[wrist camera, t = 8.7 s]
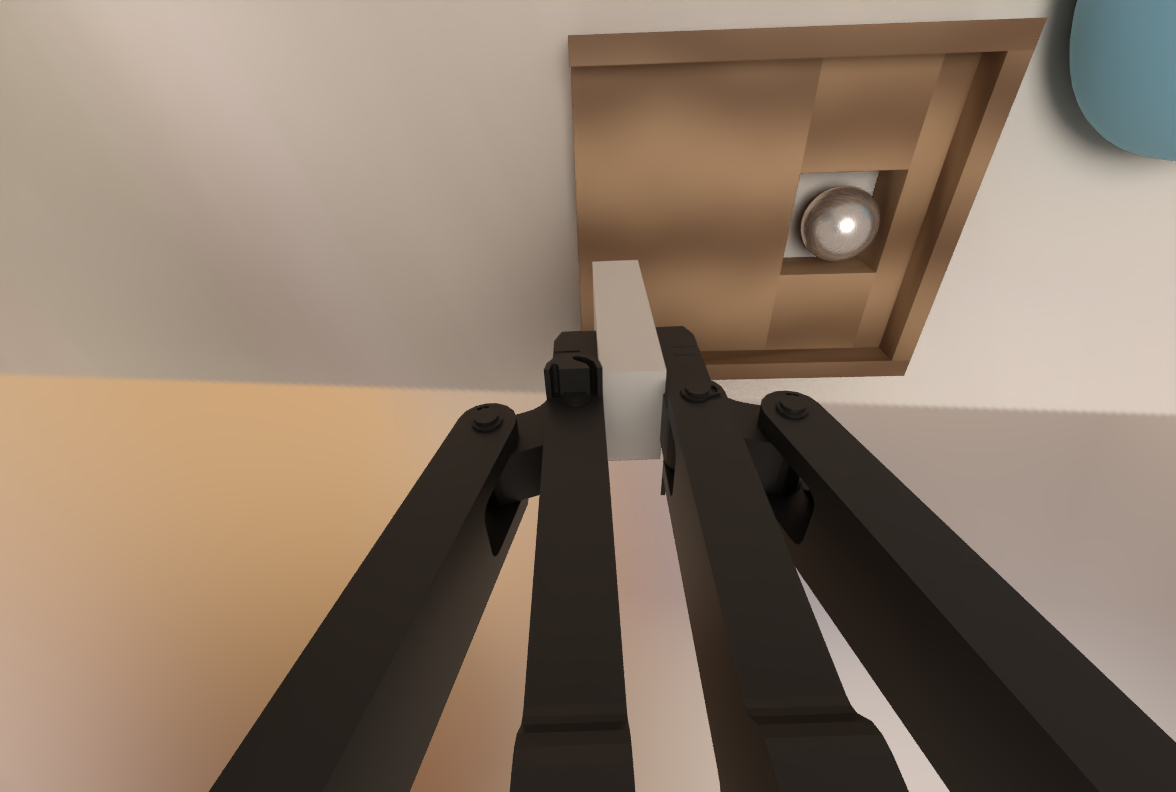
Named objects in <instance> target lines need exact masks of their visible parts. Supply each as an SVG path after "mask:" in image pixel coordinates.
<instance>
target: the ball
mask: <svg viewBox="0 0 1176 792" xmlns="http://www.w3.org/2000/svg"><path fill="white" fill-rule="evenodd" d="M879 225H880V211H879V208H878V205H877V203H876V201H875V200H874V198H873V197H872V196H871V195H870V194H869V193H868V192H866V191H865V190H863V189H861V188H858V187H853V186H839V187H834V188H831V189H829V190H827V191H825V192H823V193H821V194H820V195H818V196H817V197H816V198H815V199H814V200H813V201H812V202H811V203H810V204H809V206H808V207H807V209H806V211H805V212H804V215H803V218H802V221H801V236H802V240H803V242H804V244H805V246H806V247H807V249H808V250H809V251H810V252H811V253H812V254H814V255H815V256H817V257H819V258H821V259H824V260H829V261H840V260H845V259H849V258H852V257H854V256H856V255H857V254H859V253H861V252H862V251H863V250H865V249H866V248H867V247H868V246H869V245H870V243H871V242H872V241H873V239H874V238H875V236H876V234H877V232H878V229H879Z"/></svg>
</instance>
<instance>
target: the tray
mask: <svg viewBox="0 0 1176 792" xmlns="http://www.w3.org/2000/svg"><path fill="white" fill-rule="evenodd" d="M1046 20H1047V18H1024V19H997V20H970V21H943V22H916V23H889V24H863V25H836V26H809V27H782V28H755V29H728V30H701V31H675V32H648V33H621V34H594V35H568V47H569V67H571V86H572V109H573V133H574V157H575V181H576V205H577V229H578V253H579V277H580V300H581V324H582V331H594V299H593V266H592V262H597V261H623V260H638V263H639V267H640V270H641V274H642V278H643V282H644V286H645V290H646V294H647V297H648V301H649V305H650V309H651V313H652V317H653V320H654V324H655V327H669V326H684V327H685V328H686V329H688V330H689V331H690V332H691V333H692V334H694V336H695V339H696V342H697V344H698V347H699V350H700V352H701V355H702V358H703V360H704V363H705V366H706V368H707V371H708V374H709V376H710V379H711V380H727V379H773V378H819V377H865V376H904V375H905V372H906V370H907V367H908V365H909V362H910V360H911V357H912V355H913V352H914V350H915V347H916V345H917V342H918V340H919V337H920V335H921V332H922V330H923V327H924V325H925V322H926V320H927V317H928V315H929V312H930V310H931V307H932V305H933V302H934V300H935V297H936V295H937V292H938V290H939V287H940V285H941V282H942V280H943V277H944V275H945V272H946V270H947V267H948V265H949V262H950V260H951V257H952V255H953V252H954V250H955V247H956V245H957V242H958V240H959V237H960V235H961V232H962V230H963V227H964V225H965V222H966V220H967V217H968V215H969V212H970V210H971V207H972V205H973V202H974V200H975V197H976V195H977V192H978V190H979V187H980V185H981V182H982V180H983V177H984V175H985V172H986V170H987V167H988V165H989V162H990V160H991V157H992V155H993V152H994V150H995V147H996V145H997V142H998V140H999V137H1000V135H1001V132H1002V130H1003V127H1004V125H1005V122H1006V120H1007V117H1008V115H1009V112H1010V110H1011V107H1012V105H1013V102H1014V100H1015V97H1016V95H1017V92H1018V90H1019V87H1020V85H1021V82H1022V80H1023V77H1024V75H1025V72H1026V70H1027V67H1028V65H1029V62H1030V60H1031V57H1032V55H1033V52H1034V50H1035V47H1036V45H1037V42H1038V40H1039V37H1040V35H1041V32H1042V30H1043V27H1044V25H1045V22H1046ZM875 170H880V172H879V176H878V179H877V183H876V186H875V190H874V193H873V198H874V200H875V201H876V203H877V205H878V208H879V211H880V225H879V229H878V232H877V234H876V236H875V238H874V239H873V241H872V242H871V243H870V245H869V246H868V247H867V248H866V249H865V250H863V251H862V252H861V253H859V254H857V255H856V256H854V257H852V258H849V259H845V260H840V261H829V260H824V259H821V258H819V257H798V258H783V256H784V251H785V246H786V241H787V236H788V231H789V226H790V221H791V217H792V212H793V207H794V202H795V197H796V192H797V187H798V182H799V177H800V173H810V172H843V171H875Z"/></svg>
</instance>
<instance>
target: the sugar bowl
mask: <svg viewBox="0 0 1176 792" xmlns="http://www.w3.org/2000/svg"><path fill="white" fill-rule="evenodd" d="M1070 74H1071V81H1072V87H1073V91H1074V94H1075V97H1076V100H1077V103H1078V105H1079V107H1080V109H1081V111H1082V113H1083V114H1084V116H1085V118H1086V120H1087V121H1088V122H1089V123H1090V124H1091V125H1092V126H1093V127H1094V128H1095V130H1096V131H1097V132H1098V133H1099V134H1100V135H1101V136H1102V137H1103V138H1105V139H1106V140H1108V141H1109V142H1111V143H1112V144H1113V145H1115V146H1116V147H1118V148H1121V149H1123V150H1126V151H1128V152H1130V153H1133V154H1137V155H1142V156H1147V157H1151V158H1157V159H1164V160H1170V161H1176V0H1077V4H1076V7H1075V11H1074V16H1073V23H1072V29H1071V36H1070Z"/></svg>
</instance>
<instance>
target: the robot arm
mask: <svg viewBox="0 0 1176 792" xmlns="http://www.w3.org/2000/svg"><path fill="white" fill-rule="evenodd" d="M592 266H593V299H594V331H572V332H561V334H560V335H559V336H558V337H557V338H556V340H555V341H554V351H553V352H554V353H553V359H552V360H550V361H549V362H548V363H547V364H546V366H545V368H544V377H545V386H546V396H547V400H546V402H545V403H543V404H542V405H541V406H539V407H537V408H535V409H534V410H531V411H528V412H525V413H521V414H517V415H515V413H514V411H513V410H512V409H510V408H509V407H508V406H505V405H502V404H497V403H490V404H483V405H479V406H475V407H473V408H471V409H469V410H467V411H466V412H465V413H464V414H463V415H462V416H461V417H460V418H459V419H458V421H457V422H456V424H455V425H454V427H453V428H452V430H451V431H450V433H449V434H448V436H447V437H446V439H445V440H444V442H443V443H442V445H441V446H440V448H439V449H438V451H437V452H436V454H435V455H434V457H433V458H432V460H431V461H430V463H429V464H428V466H427V467H426V468H425V470H424V472H423V473H422V475H421V476H420V478H419V479H418V480H417V482H416V484H415V485H414V486H413V488H412V490H411V491H410V492H409V494H408V495H407V497H406V498H405V500H404V501H403V503H402V504H401V506H400V507H399V509H398V510H397V512H396V513H395V515H394V516H393V518H392V519H391V521H390V522H389V524H388V525H387V527H386V528H385V530H384V531H383V533H382V534H381V536H380V537H379V539H378V540H377V542H376V543H375V545H374V546H373V548H372V549H371V551H370V552H369V554H368V555H367V556H366V558H365V560H364V561H363V562H362V564H361V565H360V567H359V569H358V570H357V572H356V573H355V574H354V576H353V577H352V579H351V580H350V582H349V583H348V585H347V587H346V588H345V589H344V591H343V592H342V594H341V595H340V597H339V598H338V600H337V601H336V603H335V604H334V606H333V608H332V609H331V610H330V612H329V613H328V615H327V617H326V618H325V619H324V621H323V622H322V624H321V625H320V627H319V628H318V630H317V631H316V633H315V634H314V636H313V637H312V639H311V640H310V642H309V643H308V645H307V646H306V647H305V649H304V650H303V652H302V653H301V655H300V656H299V658H298V660H297V661H296V662H295V664H294V665H293V667H292V668H291V670H290V672H289V673H288V674H287V676H286V677H285V679H284V680H283V682H282V684H281V685H280V686H279V688H278V689H277V691H276V692H275V694H274V695H273V697H272V698H271V700H270V701H269V703H268V704H267V706H266V707H265V709H264V710H263V712H262V713H261V715H260V717H259V718H258V719H257V721H256V722H255V724H254V725H253V727H252V728H251V730H250V731H249V733H248V734H247V736H246V737H245V738H244V740H243V742H242V743H241V744H240V746H239V748H238V749H237V750H236V752H235V753H234V755H233V756H232V758H231V760H230V761H229V762H228V764H227V765H226V767H225V768H224V770H223V771H222V773H221V774H220V776H219V777H218V779H217V780H216V782H215V783H214V785H213V786H212V788H211V789H210V791H209V792H410V790H411V787H412V785H413V782H414V780H415V777H416V775H417V773H418V770H419V768H420V765H421V763H422V760H423V758H424V756H425V753H426V751H427V748H428V746H429V743H430V741H431V738H432V736H433V734H434V731H435V729H436V726H437V724H438V721H439V719H440V717H441V714H442V712H443V709H444V706H445V704H446V702H447V699H448V697H449V695H450V692H451V690H452V687H453V685H454V683H455V680H456V678H457V675H458V673H459V670H460V668H461V665H462V663H463V661H464V658H465V656H466V653H467V651H468V648H469V646H470V643H471V641H472V639H473V636H474V633H475V631H476V629H477V626H478V624H479V622H480V619H481V617H482V614H483V612H484V609H485V607H486V605H487V602H488V600H489V597H490V595H491V592H492V590H493V587H494V585H495V583H496V580H497V578H498V575H499V573H500V570H501V568H502V566H503V563H504V561H505V558H506V556H507V553H508V550H509V548H510V546H511V544H512V541H513V539H514V536H515V534H516V531H517V529H518V527H519V524H520V522H521V519H522V517H523V514H524V512H525V509H526V507H527V505H528V498H530V497H534V496H537V495H540V497H539V510H538V524H537V537H536V550H535V564H534V576H533V590H532V604H531V617H530V630H529V643H528V656H527V670H526V684H525V696H524V710H523V718H522V723H521V726H520V728H519V730H518V733H517V736H516V741H515V746H514V754H513V764H512V772H511V784H510V792H635V782H634V770H633V758H632V746H631V737H630V729H629V724H628V718H627V707H626V694H625V680H624V669H623V668H624V667H623V654H622V641H621V627H620V616H619V615H620V614H619V602H618V588H617V575H616V561H615V548H614V535H613V522H612V509H611V495H610V482H609V470H608V461H618V460H619V461H621V460H644V459H645V460H648V459H660V454H661V448H662V453H663V458H664V460H663V473H662V474H663V475H662V487H661V495H665V492H666V496H667V501H668V506H669V512H670V517H671V523H672V528H673V533H674V539H675V544H676V549H677V554H678V560H679V565H680V571H681V576H682V581H683V587H684V592H685V597H686V602H687V608H688V614H689V619H690V624H691V629H692V634H693V640H694V645H695V650H696V656H697V662H698V667H699V672H700V678H701V683H702V688H703V694H704V699H705V704H706V710H707V715H708V721H709V725H710V731H711V737H712V742H713V747H714V753H715V758H716V763H717V769H718V775H719V781H720V791H721V792H909V791H908V789H907V786H906V784H905V782H904V779H903V777H902V775H901V773H900V770H899V768H898V765H897V763H896V761H895V759H894V756H893V754H892V752H891V750H890V748H889V746H888V744H887V742H886V740H885V739H884V737H883V735H882V733H881V732H880V731H879V730H878V728H877V727H876V726H875V725H874V723H873V722H872V721H870V720H869V719H867V718H865V717H863V716H861V715H860V714H858V713H857V712H856V711H855V710H854V709H853V707H852V706H851V704H850V702H849V700H848V698H847V696H846V694H845V691H844V689H843V686H842V683H841V681H840V679H839V676H838V673H837V671H836V668H835V666H834V663H833V661H832V658H831V656H830V653H829V651H828V648H827V646H826V643H825V641H824V638H823V636H822V633H821V631H820V628H819V626H818V623H817V621H816V619H815V616H814V613H813V611H812V608H811V606H810V603H809V601H808V598H807V596H806V593H805V591H804V588H803V586H802V583H801V581H800V578H799V576H798V573H797V571H796V568H797V570H798V571H799V573H800V574H801V576H802V577H803V579H804V580H805V582H806V583H807V584H808V586H809V587H810V589H811V590H812V592H813V593H814V595H815V596H816V597H817V599H818V600H819V602H820V603H821V605H822V606H823V608H824V609H825V611H826V612H827V613H828V615H829V616H830V618H831V619H832V621H833V622H834V624H835V625H836V626H837V628H838V629H839V631H840V632H841V634H842V635H843V637H844V638H845V640H846V641H847V643H848V644H849V646H850V647H851V648H852V650H853V651H854V653H855V654H856V656H857V657H858V658H859V660H860V662H861V663H862V664H863V666H864V667H865V669H866V670H867V672H868V673H869V675H870V676H871V677H872V679H873V680H874V682H875V683H876V685H877V686H878V688H879V689H880V691H881V692H882V694H883V695H884V696H885V698H886V699H887V701H888V702H889V704H890V705H891V706H892V708H893V709H894V711H895V712H896V714H897V715H898V717H899V718H900V719H901V721H902V722H903V724H904V725H905V727H906V728H907V730H908V731H909V733H910V734H911V736H912V737H913V739H914V740H915V741H916V743H917V744H918V746H919V747H920V749H921V750H922V752H923V753H924V754H925V756H926V757H927V759H928V760H929V762H930V763H931V764H932V766H933V767H934V769H935V770H936V772H937V773H938V775H939V776H940V778H941V779H942V781H943V782H944V784H945V785H946V786H947V788H948V789H949V791H950V792H1176V742H1175V741H1174V740H1173V739H1171V738H1170V737H1169V736H1168V735H1167V734H1166V733H1165V732H1164V731H1163V730H1162V729H1161V728H1160V727H1159V726H1158V725H1157V724H1156V723H1155V722H1153V720H1152V719H1150V718H1149V717H1148V716H1147V715H1146V714H1145V713H1144V712H1143V711H1142V710H1141V709H1140V708H1139V707H1138V706H1137V705H1136V704H1135V703H1134V702H1132V700H1130V699H1129V698H1128V697H1127V696H1126V695H1125V694H1124V693H1123V692H1122V691H1121V690H1120V689H1119V688H1118V687H1117V686H1116V685H1115V684H1114V683H1113V682H1112V681H1110V680H1109V679H1108V678H1107V677H1106V676H1105V675H1104V674H1103V673H1102V672H1101V671H1100V670H1099V669H1098V668H1097V667H1096V666H1095V665H1094V664H1093V663H1092V662H1090V661H1089V660H1088V659H1087V658H1086V657H1085V656H1084V655H1083V654H1082V653H1081V652H1080V651H1079V650H1078V649H1077V648H1076V647H1075V646H1073V644H1072V643H1070V642H1069V641H1068V640H1067V639H1066V638H1065V637H1064V636H1063V635H1062V634H1061V633H1060V632H1059V631H1058V630H1056V628H1055V627H1054V626H1053V625H1051V624H1050V623H1049V622H1048V621H1047V620H1046V619H1045V618H1044V617H1043V616H1042V615H1041V614H1040V613H1039V612H1038V611H1037V610H1036V609H1035V608H1034V607H1032V605H1030V604H1029V603H1028V602H1027V601H1026V600H1025V599H1024V598H1023V597H1022V596H1021V595H1020V594H1019V593H1018V592H1017V591H1016V590H1015V589H1014V588H1013V587H1012V586H1010V585H1009V584H1008V583H1007V582H1006V581H1005V580H1004V579H1003V578H1002V577H1001V576H1000V575H999V574H998V573H997V572H996V571H995V570H994V569H992V568H991V567H990V566H989V565H988V564H987V563H986V562H985V561H984V560H983V559H982V558H981V557H980V556H979V555H978V554H977V553H976V552H975V551H974V550H972V549H971V548H970V547H969V546H968V545H967V544H966V543H965V542H964V541H963V540H962V539H961V538H960V537H959V536H958V535H957V534H956V533H955V532H954V531H952V530H951V529H950V528H949V527H948V526H947V525H946V524H945V523H944V522H943V521H942V520H941V519H940V518H939V517H938V516H937V515H936V514H935V513H934V512H932V511H931V510H930V509H929V508H928V507H927V506H926V505H925V504H924V503H923V502H922V501H921V500H920V499H919V498H918V497H917V496H916V495H915V494H914V493H912V491H910V490H909V489H908V488H907V487H906V486H905V485H904V484H903V483H902V482H901V481H900V480H899V479H898V478H897V477H896V476H895V475H894V474H893V473H891V472H890V471H889V470H888V469H887V468H886V467H885V466H884V465H883V464H882V463H881V462H880V461H879V460H878V459H877V458H876V457H875V456H873V455H872V453H870V452H869V451H868V450H867V449H866V448H865V447H864V446H863V445H862V444H861V443H860V442H859V441H858V440H857V439H856V438H855V437H854V436H852V435H851V434H850V433H849V432H848V431H847V430H846V429H845V428H844V427H843V426H842V425H841V424H840V423H839V422H838V421H837V420H836V419H835V418H834V417H833V416H832V415H830V414H829V413H828V412H827V411H826V410H825V409H824V408H823V407H822V406H821V405H820V404H819V403H818V402H816V401H815V400H813V399H812V398H810V397H809V396H806V395H803V394H801V393H798V392H792V391H775V392H773V393H770V394H767V395H766V396H765V397H764V398H763V399H762V402H761V405H755V404H749V403H743V402H739V401H735V400H732V399H730V398H727V395H726V393H725V391H724V390H723V388H722V387H721V386H720V385H718V384H717V383H715V382H714V381H711V379H710V376H709V374H708V371H707V368H706V366H705V363H704V360H703V358H702V355H701V352H700V350H699V347H698V344H697V342H696V339H695V336H694V334H692V333H691V332H690V331H689V330H688V329H686V328H685V327H684V326H669V327H655V324H654V320H653V317H652V313H651V309H650V305H649V301H648V297H647V294H646V290H645V286H644V282H643V278H642V274H641V270H640V267H639V263H638V260H623V261H597V262H592ZM795 567H796V568H795Z"/></svg>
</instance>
